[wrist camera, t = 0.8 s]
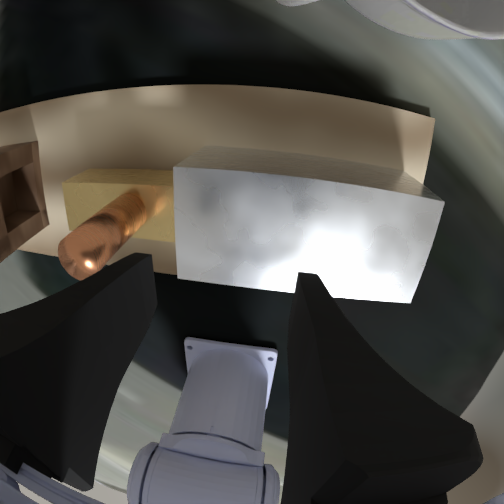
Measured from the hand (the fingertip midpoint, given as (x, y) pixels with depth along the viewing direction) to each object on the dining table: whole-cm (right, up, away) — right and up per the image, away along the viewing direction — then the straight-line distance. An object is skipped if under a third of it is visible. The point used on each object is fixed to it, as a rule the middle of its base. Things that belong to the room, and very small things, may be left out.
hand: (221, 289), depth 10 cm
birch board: (-5, +6, +9) cm, 12 cm away
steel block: (+4, +4, +8) cm, 10 cm away
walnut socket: (-18, +7, +10) cm, 21 cm away
